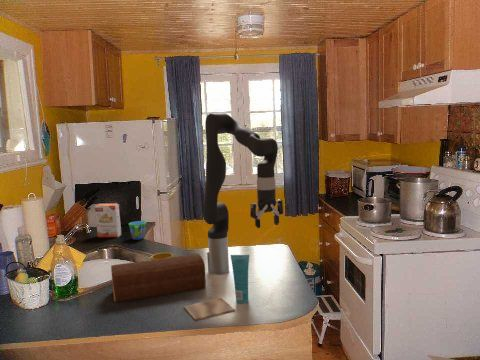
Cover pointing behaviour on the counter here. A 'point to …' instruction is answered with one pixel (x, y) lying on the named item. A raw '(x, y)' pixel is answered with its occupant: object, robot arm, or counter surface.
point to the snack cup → (137, 229)
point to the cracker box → (108, 220)
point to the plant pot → (161, 256)
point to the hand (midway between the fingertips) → (267, 226)
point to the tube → (240, 276)
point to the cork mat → (208, 308)
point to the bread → (157, 277)
